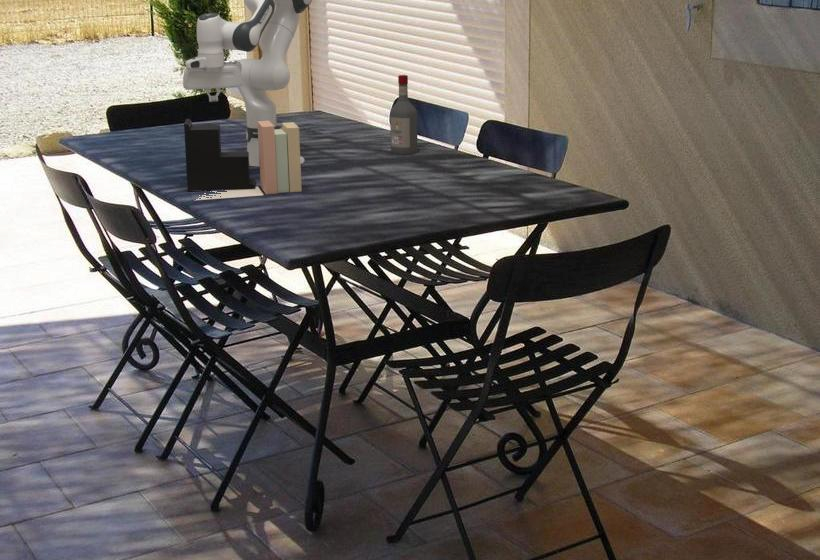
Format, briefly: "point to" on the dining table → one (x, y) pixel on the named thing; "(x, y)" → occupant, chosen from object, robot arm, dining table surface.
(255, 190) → the cream mat
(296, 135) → the book row
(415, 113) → the liquor
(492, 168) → the dining table surface
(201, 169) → the black drawer cabinet
